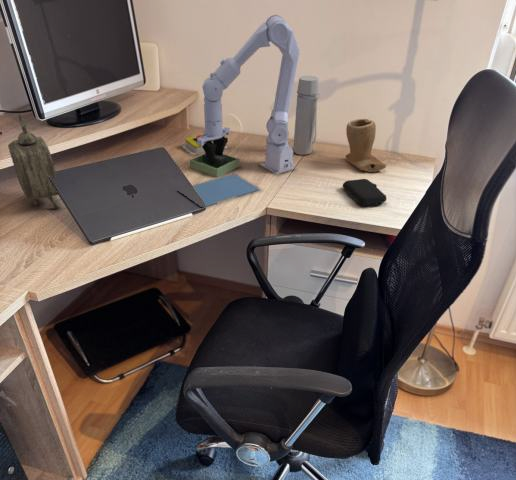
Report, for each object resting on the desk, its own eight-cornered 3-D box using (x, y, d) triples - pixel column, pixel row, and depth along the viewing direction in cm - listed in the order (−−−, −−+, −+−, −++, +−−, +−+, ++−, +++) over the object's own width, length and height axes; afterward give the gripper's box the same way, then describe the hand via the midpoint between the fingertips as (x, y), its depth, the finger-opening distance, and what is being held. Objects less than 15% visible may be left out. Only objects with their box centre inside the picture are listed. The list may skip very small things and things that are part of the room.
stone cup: (336, 159, 180) (341, 115, 170) (365, 155, 184) (372, 113, 174) (355, 176, 170) (362, 130, 160) (386, 172, 173) (395, 127, 163)
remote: (227, 165, 170) (226, 156, 168) (220, 168, 168) (220, 159, 166) (209, 159, 173) (209, 151, 171) (202, 162, 171) (202, 153, 169)
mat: (259, 190, 160) (259, 189, 159) (201, 208, 149) (201, 207, 149) (234, 175, 168) (234, 174, 167) (177, 191, 157) (177, 190, 157)
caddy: (239, 167, 172) (239, 158, 170) (217, 178, 165) (217, 169, 163) (212, 158, 178) (212, 150, 176) (190, 168, 171) (189, 159, 169)
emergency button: (180, 135, 182) (217, 129, 188) (181, 147, 185) (217, 141, 191) (191, 143, 176) (228, 137, 182) (191, 156, 179) (228, 149, 185)
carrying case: (391, 204, 154) (369, 185, 165) (393, 195, 152) (370, 176, 163) (359, 208, 152) (339, 188, 162) (361, 199, 150) (341, 179, 160)
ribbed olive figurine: (65, 210, 146) (42, 121, 129) (33, 216, 142) (5, 126, 126) (53, 190, 155) (31, 105, 138) (23, 196, 152) (-4, 109, 135)
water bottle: (287, 151, 184) (292, 77, 168) (302, 146, 189) (308, 73, 172) (305, 159, 180) (312, 83, 163) (320, 154, 184) (328, 79, 167)
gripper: (218, 111, 167) (219, 152, 176) (188, 122, 158) (191, 164, 167) (235, 116, 164) (235, 157, 173) (205, 127, 155) (207, 170, 164)
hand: (214, 161), depth 170 cm, fingers closed on remote, 3 cm apart
